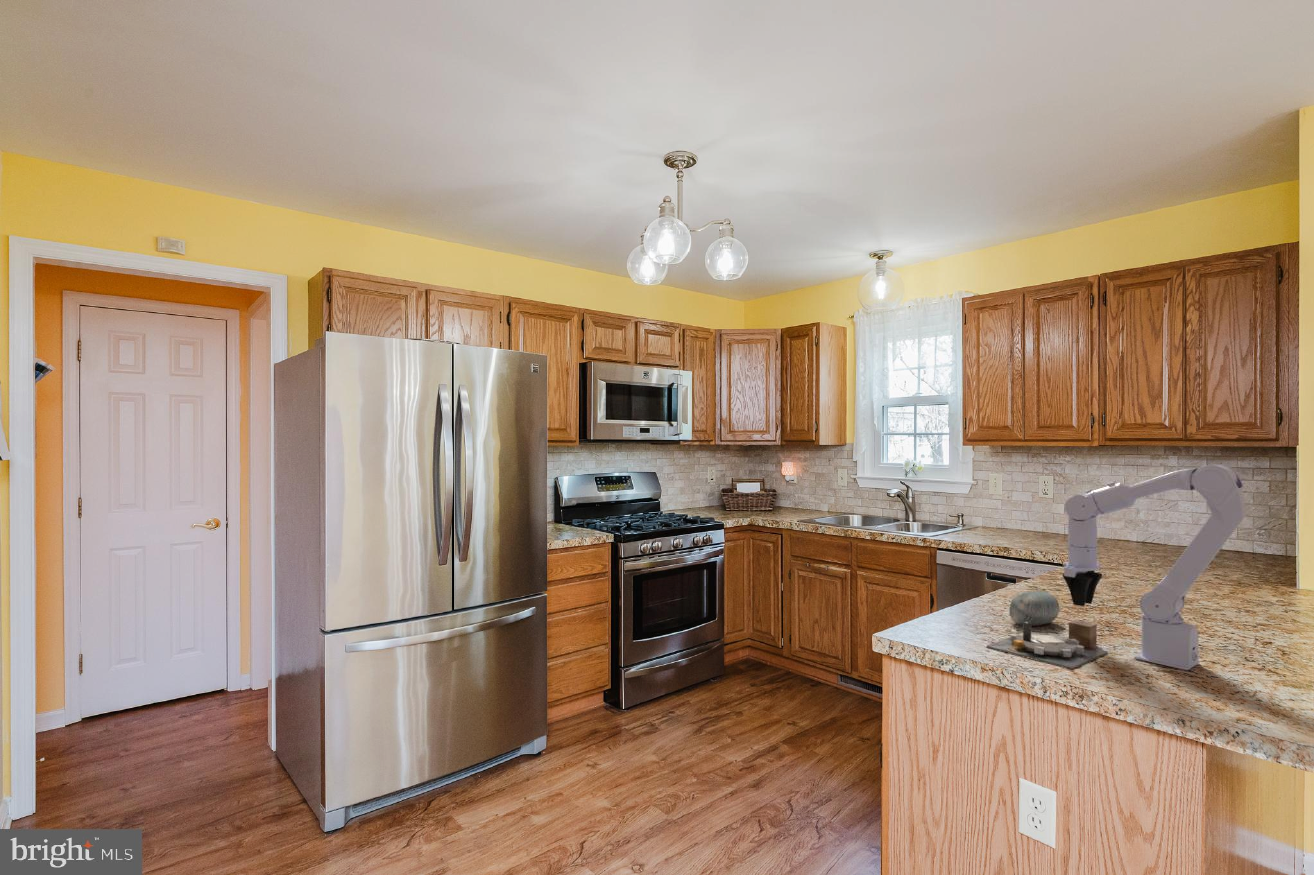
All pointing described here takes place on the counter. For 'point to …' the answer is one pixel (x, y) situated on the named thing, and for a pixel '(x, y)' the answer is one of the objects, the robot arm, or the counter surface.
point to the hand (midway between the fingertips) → (1082, 604)
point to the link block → (1083, 633)
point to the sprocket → (1046, 643)
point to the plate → (1066, 662)
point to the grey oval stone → (1034, 608)
